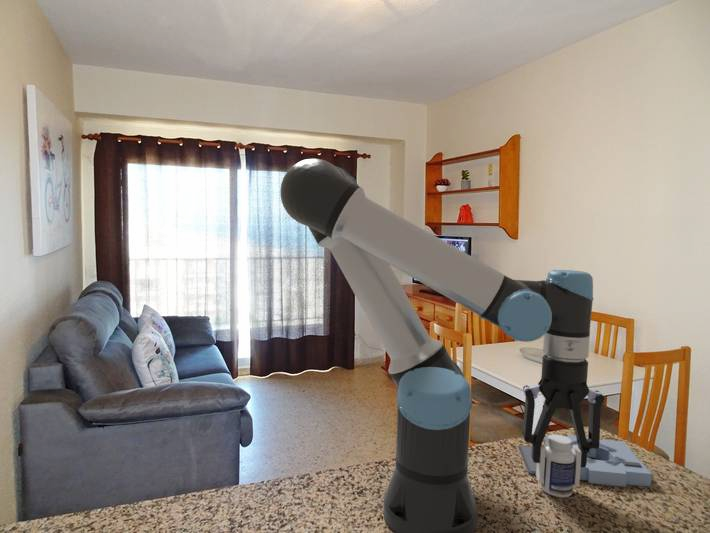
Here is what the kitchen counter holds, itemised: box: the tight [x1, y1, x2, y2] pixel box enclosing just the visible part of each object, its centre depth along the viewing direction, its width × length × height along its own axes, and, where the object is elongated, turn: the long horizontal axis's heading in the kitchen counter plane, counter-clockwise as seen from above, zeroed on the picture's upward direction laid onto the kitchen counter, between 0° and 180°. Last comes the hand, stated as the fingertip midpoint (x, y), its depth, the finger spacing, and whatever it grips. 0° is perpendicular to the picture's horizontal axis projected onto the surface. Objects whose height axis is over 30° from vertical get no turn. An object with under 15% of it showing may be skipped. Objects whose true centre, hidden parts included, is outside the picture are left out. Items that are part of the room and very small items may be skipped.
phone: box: [517, 444, 537, 476], centre depth 101 cm, size 12×6×1 cm, turn 171°
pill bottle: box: [540, 434, 575, 499], centre depth 89 cm, size 5×5×10 cm
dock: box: [544, 434, 653, 488], centre depth 100 cm, size 16×16×3 cm
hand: (557, 480), depth 89 cm, fingers closed on pill bottle, 5 cm apart
